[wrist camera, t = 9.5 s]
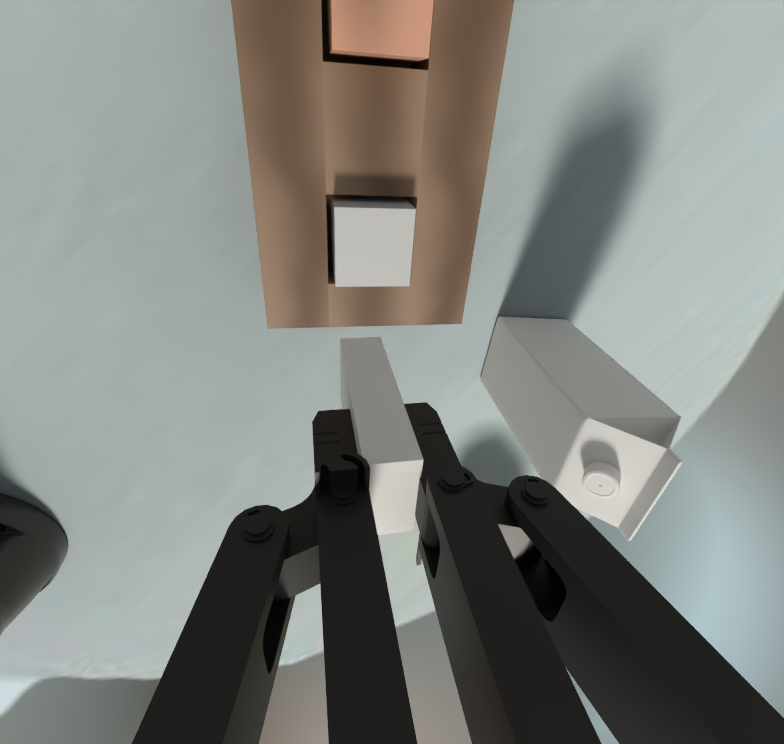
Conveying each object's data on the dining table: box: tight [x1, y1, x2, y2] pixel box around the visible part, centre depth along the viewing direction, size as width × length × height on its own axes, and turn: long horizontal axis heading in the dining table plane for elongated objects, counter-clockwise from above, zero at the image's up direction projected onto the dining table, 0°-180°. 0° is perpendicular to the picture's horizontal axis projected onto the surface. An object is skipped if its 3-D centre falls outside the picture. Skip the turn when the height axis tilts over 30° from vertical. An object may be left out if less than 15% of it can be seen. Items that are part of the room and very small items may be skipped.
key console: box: [231, 0, 514, 328], centre depth 26 cm, size 14×24×6 cm, turn 177°
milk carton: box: [481, 316, 682, 541], centre depth 33 cm, size 7×7×19 cm
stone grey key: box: [331, 194, 416, 287], centre depth 28 cm, size 5×5×4 cm
